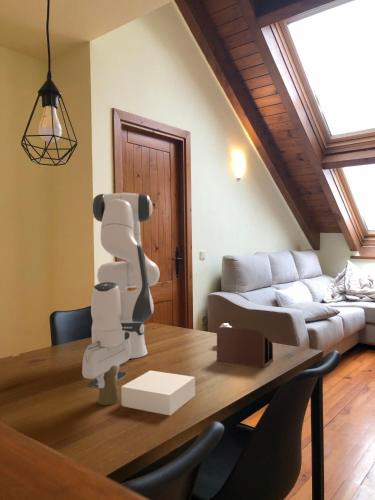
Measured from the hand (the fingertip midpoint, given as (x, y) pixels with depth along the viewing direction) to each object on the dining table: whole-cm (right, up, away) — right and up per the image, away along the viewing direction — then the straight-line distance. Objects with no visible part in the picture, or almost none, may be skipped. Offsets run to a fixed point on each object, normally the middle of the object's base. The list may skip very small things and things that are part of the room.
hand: (108, 383), depth 123 cm
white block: (+15, -5, 0) cm, 16 cm away
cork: (0, -5, 0) cm, 5 cm away
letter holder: (+46, -4, +38) cm, 60 cm away
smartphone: (-4, -5, +19) cm, 20 cm away
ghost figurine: (+42, -3, +62) cm, 74 cm away
